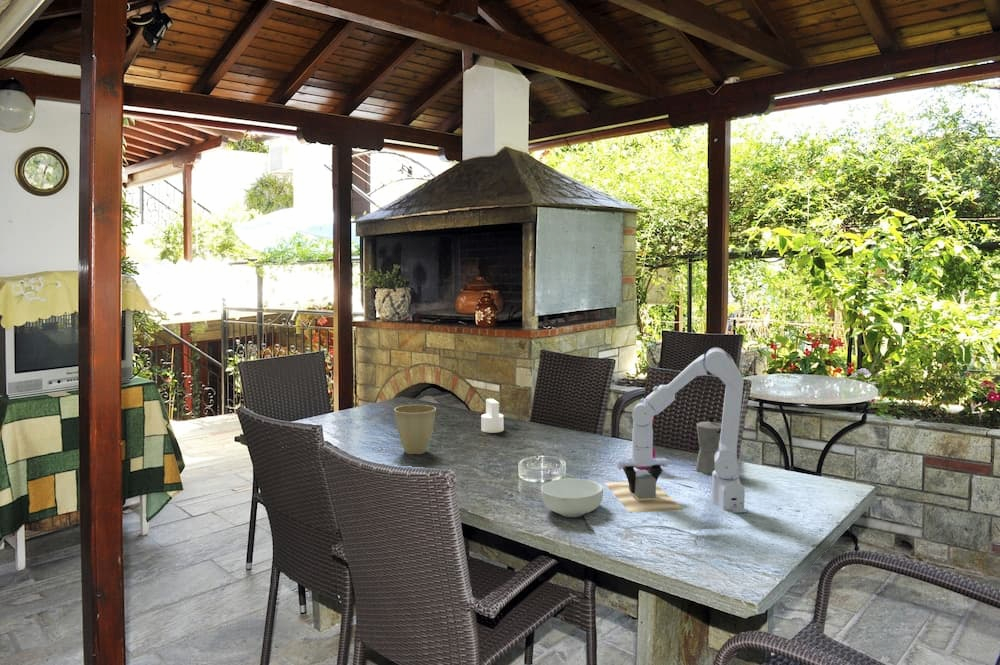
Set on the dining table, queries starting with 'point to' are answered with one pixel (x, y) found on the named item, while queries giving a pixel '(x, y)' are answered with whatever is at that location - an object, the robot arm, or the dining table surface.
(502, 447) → the dining table surface
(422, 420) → the plant pot
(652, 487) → the block
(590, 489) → the cereal bowl
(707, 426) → the coffeepot
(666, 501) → the birch board
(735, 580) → the dining table surface
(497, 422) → the base with upright slab
